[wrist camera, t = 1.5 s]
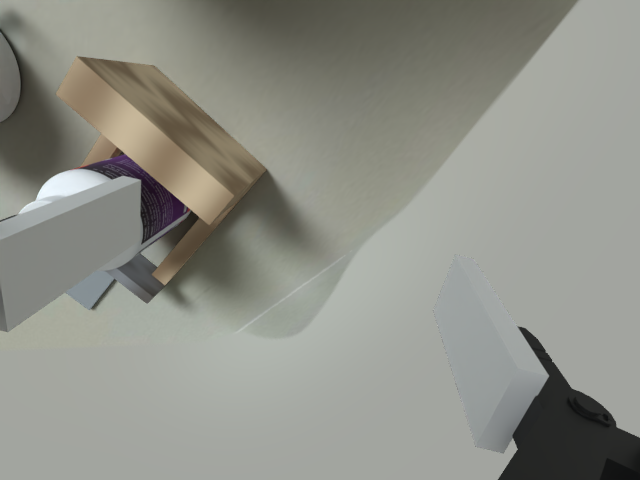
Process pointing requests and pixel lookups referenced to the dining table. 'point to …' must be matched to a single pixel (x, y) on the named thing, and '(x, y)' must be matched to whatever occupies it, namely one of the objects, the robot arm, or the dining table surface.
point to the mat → (91, 288)
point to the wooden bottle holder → (160, 152)
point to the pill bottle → (155, 210)
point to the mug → (8, 80)
